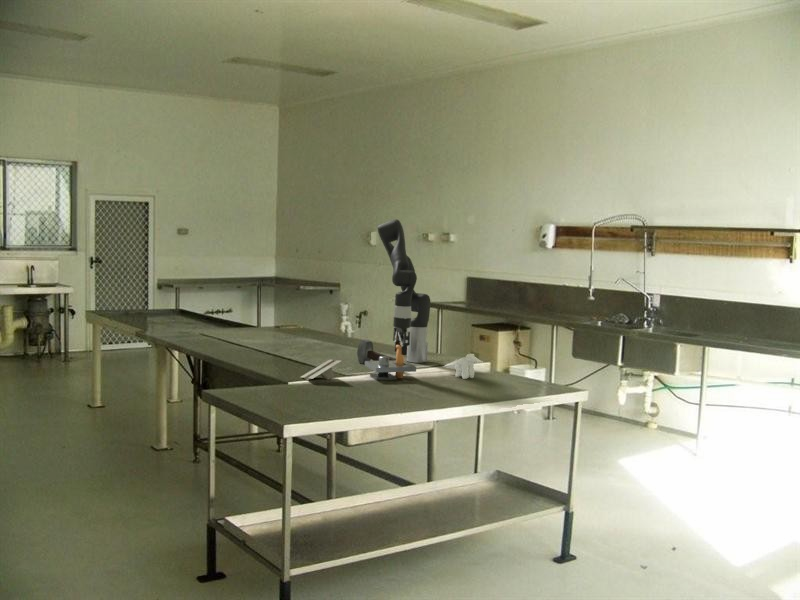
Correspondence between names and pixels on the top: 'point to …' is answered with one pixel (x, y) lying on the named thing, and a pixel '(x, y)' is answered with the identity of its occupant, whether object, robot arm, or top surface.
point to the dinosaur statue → (464, 366)
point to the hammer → (368, 352)
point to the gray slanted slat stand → (322, 370)
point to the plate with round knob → (387, 368)
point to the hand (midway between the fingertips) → (400, 353)
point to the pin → (399, 360)
